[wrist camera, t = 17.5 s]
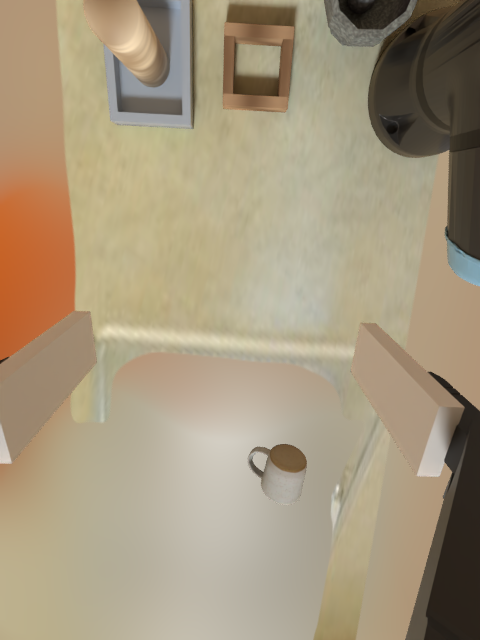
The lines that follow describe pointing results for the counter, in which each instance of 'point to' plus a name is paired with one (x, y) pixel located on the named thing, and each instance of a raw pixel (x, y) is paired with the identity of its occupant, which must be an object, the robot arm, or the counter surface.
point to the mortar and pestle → (366, 19)
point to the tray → (177, 91)
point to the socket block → (256, 36)
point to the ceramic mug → (281, 473)
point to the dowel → (129, 38)
